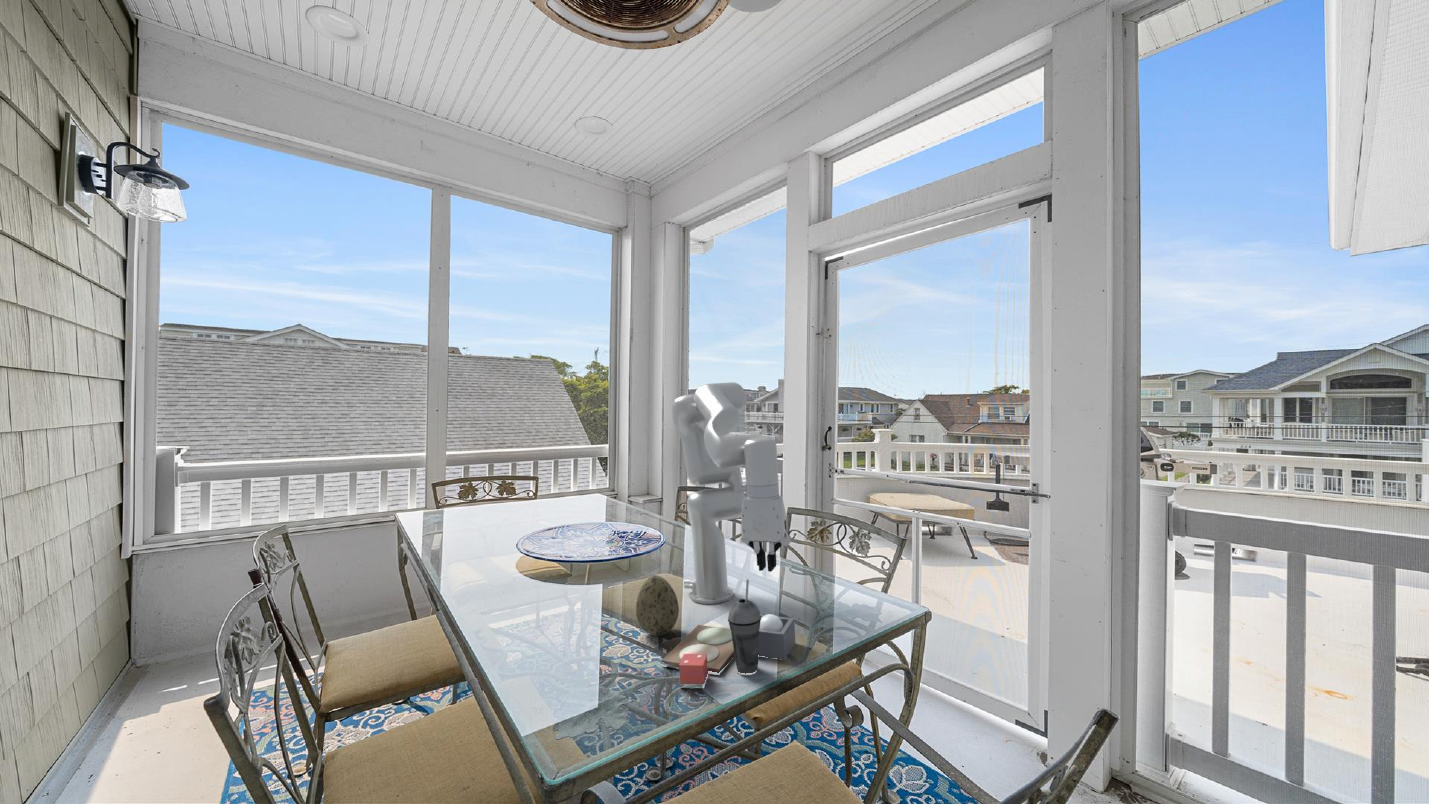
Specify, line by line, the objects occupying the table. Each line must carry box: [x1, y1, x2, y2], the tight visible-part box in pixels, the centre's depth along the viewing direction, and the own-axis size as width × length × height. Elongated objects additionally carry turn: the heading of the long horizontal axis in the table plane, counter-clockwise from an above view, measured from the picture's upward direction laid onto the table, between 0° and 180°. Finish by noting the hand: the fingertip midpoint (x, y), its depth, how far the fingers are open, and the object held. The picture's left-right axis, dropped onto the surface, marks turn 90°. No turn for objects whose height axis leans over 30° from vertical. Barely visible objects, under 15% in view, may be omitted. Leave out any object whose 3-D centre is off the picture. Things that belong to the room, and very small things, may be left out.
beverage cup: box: [727, 578, 761, 674], centre depth 126 cm, size 7×7×20 cm
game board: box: [661, 624, 735, 673], centre depth 136 cm, size 14×20×2 cm
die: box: [679, 654, 709, 685], centre depth 123 cm, size 5×5×5 cm
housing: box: [759, 614, 796, 661], centre depth 136 cm, size 9×9×6 cm
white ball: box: [760, 613, 783, 632], centre depth 136 cm, size 6×6×6 cm
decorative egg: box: [635, 574, 680, 637], centre depth 147 cm, size 11×11×15 cm
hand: (767, 568), depth 135 cm, fingers closed
